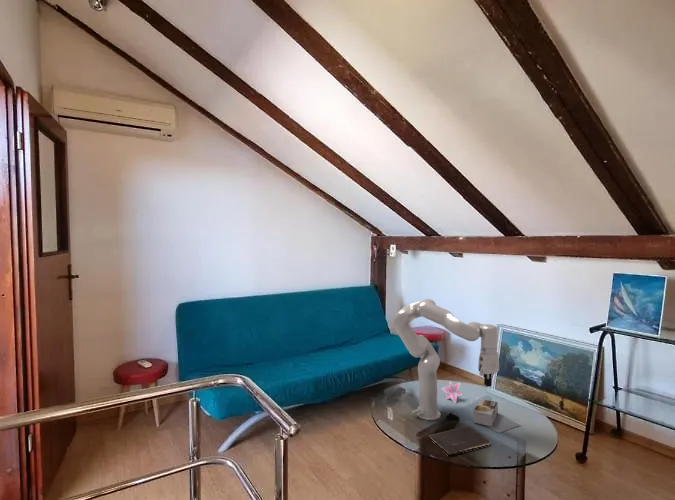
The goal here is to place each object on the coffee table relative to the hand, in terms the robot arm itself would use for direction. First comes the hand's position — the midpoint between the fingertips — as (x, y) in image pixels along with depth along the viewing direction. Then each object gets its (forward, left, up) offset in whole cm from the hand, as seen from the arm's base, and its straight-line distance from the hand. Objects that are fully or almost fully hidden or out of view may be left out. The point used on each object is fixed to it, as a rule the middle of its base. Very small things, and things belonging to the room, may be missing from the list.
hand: (487, 385), depth 190 cm
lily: (+6, +32, -21) cm, 38 cm away
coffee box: (-2, +1, -18) cm, 18 cm away
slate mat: (+7, 0, -21) cm, 22 cm away
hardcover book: (-23, -4, -22) cm, 32 cm away
